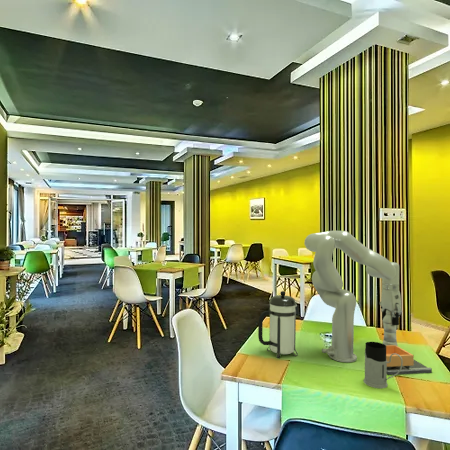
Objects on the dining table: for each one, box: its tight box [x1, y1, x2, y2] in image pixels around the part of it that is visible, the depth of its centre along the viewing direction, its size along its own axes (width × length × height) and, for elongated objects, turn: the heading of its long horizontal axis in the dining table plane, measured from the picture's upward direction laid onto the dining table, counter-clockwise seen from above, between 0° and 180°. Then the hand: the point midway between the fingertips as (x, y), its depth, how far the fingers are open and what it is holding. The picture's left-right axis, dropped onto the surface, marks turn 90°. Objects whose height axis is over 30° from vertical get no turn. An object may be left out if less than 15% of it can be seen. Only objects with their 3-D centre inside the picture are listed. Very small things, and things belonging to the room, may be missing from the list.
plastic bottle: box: [382, 309, 399, 347], centre depth 165 cm, size 6×7×20 cm
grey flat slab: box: [387, 359, 433, 376], centre depth 146 cm, size 20×13×2 cm, turn 97°
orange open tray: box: [386, 345, 415, 369], centre depth 145 cm, size 12×12×6 cm
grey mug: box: [363, 341, 403, 389], centre depth 129 cm, size 9×14×15 cm, turn 43°
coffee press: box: [257, 290, 299, 359], centre depth 159 cm, size 17×16×30 cm
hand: (390, 322), depth 165 cm, fingers open, 7 cm apart
